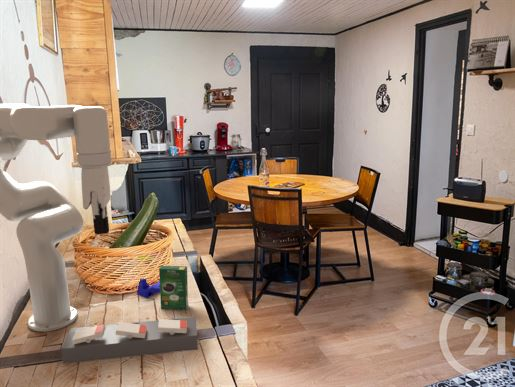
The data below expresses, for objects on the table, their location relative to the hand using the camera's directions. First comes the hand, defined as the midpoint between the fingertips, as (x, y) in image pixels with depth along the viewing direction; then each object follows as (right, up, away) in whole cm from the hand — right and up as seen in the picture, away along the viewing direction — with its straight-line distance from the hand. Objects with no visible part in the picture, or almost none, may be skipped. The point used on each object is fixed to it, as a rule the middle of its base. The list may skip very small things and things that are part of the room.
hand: (102, 232), depth 107 cm
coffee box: (+14, -25, +22) cm, 36 cm away
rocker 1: (-2, -26, -1) cm, 26 cm away
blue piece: (+6, -22, +34) cm, 41 cm away
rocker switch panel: (+7, -29, +3) cm, 30 cm away
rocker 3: (+17, -25, +2) cm, 30 cm away
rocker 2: (+7, -25, 0) cm, 26 cm away
